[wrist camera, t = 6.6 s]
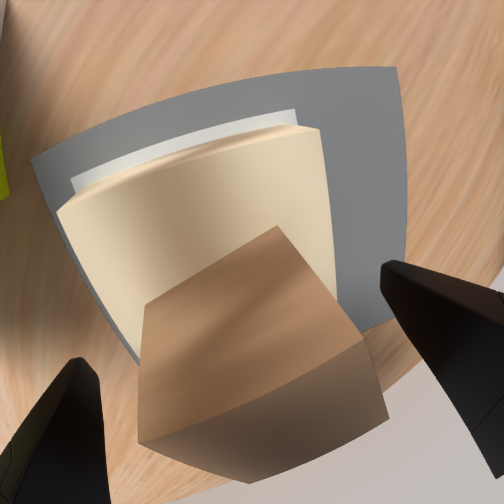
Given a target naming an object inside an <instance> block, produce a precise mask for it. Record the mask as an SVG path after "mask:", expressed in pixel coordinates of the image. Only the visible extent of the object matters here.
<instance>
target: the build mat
mask: <svg viewBox="0 0 504 504" xmlns="http://www.w3.org/2000/svg"><path fill="white" fill-rule="evenodd" d="M283 123H287V124H293V125H299V126H305V127H310V128H315V129H319V131H320V137H321V143H322V150H323V156H324V163H325V170H326V178H327V186H328V194H329V203H330V212H331V221H332V232H333V243H334V256H335V271H336V288H337V302H338V304H339V305H340V306H341V308H342V309H343V310H344V312H345V313H346V314H347V316H348V317H349V318H350V320H351V321H352V322H353V324H354V325H355V326H356V328H357V329H358V331H359V332H360V333H361V332H363V331H366V330H368V329H370V328H372V327H374V326H377V325H379V324H381V323H383V322H385V321H387V320H389V319H391V318H393V317H395V315H394V314H393V312H392V310H391V309H390V307H389V305H388V304H387V302H386V300H385V299H384V297H383V295H382V293H381V291H380V268H381V265H382V264H383V263H385V262H387V261H390V260H393V259H394V260H398V261H402V262H404V258H405V245H406V226H407V162H406V143H405V130H404V119H403V110H402V102H401V94H400V87H399V81H398V75H397V69H396V67H341V68H325V69H314V70H304V71H295V72H287V73H280V74H273V75H267V76H261V77H255V78H250V79H244V80H239V81H234V82H230V83H225V84H221V85H217V86H212V87H208V88H204V89H201V90H197V91H193V92H189V93H186V94H182V95H179V96H176V97H172V98H169V99H166V100H163V101H160V102H157V103H154V104H151V105H148V106H145V107H142V108H139V109H136V110H134V111H131V112H128V113H126V114H123V115H121V116H118V117H116V118H113V119H111V120H108V121H106V122H104V123H101V124H99V125H97V126H94V127H92V128H90V129H88V130H85V131H83V132H81V133H79V134H77V135H75V136H73V137H71V138H69V139H67V140H65V141H63V142H61V143H59V144H57V145H55V146H53V147H51V148H49V149H47V150H46V151H44V152H42V153H40V154H38V155H37V156H35V157H33V158H31V159H30V161H31V164H32V167H33V170H34V173H35V175H36V178H37V181H38V184H39V186H40V189H41V191H42V194H43V197H44V199H45V202H46V204H47V206H48V209H49V211H50V213H51V216H52V218H53V220H54V223H55V225H56V227H57V229H58V231H59V234H60V236H61V238H62V240H63V242H64V244H65V246H66V248H67V250H68V252H69V254H70V256H71V258H72V260H73V262H74V264H75V266H76V268H77V269H78V271H79V273H80V275H81V277H82V279H83V280H84V282H85V284H86V286H87V287H88V289H89V291H90V293H91V294H92V296H93V298H94V299H95V301H96V303H97V304H98V306H99V308H100V309H101V311H102V312H103V314H104V316H105V317H106V319H107V320H108V322H109V323H110V325H111V327H112V328H113V330H114V331H115V333H116V334H117V336H118V337H119V338H120V340H121V341H122V343H123V344H124V346H125V347H126V349H127V350H128V351H129V353H130V354H131V356H132V357H133V358H134V360H135V361H136V362H137V364H138V365H139V366H140V359H139V358H138V356H137V355H136V353H135V352H134V351H133V349H132V348H131V346H130V345H129V343H128V342H127V340H126V339H125V338H124V336H123V335H122V333H121V332H120V330H119V328H118V327H117V325H116V324H115V322H114V321H113V319H112V318H111V316H110V314H109V313H108V311H107V309H106V308H105V306H104V304H103V303H102V301H101V299H100V298H99V296H98V294H97V293H96V291H95V289H94V287H93V286H92V284H91V282H90V280H89V278H88V277H87V275H86V273H85V271H84V269H83V267H82V265H81V263H80V262H79V260H78V258H77V256H76V254H75V252H74V250H73V248H72V246H71V244H70V241H69V239H68V237H67V235H66V233H65V231H64V229H63V226H62V224H61V222H60V220H59V217H58V215H57V213H56V212H57V211H58V210H59V209H60V208H61V207H62V206H63V205H64V204H65V203H66V202H67V201H68V200H69V199H71V198H72V197H73V196H74V195H75V194H76V193H77V192H78V191H79V190H81V189H82V188H83V187H84V186H85V185H88V184H90V183H92V182H95V181H97V180H99V179H102V178H104V177H107V176H109V175H112V174H114V173H117V172H119V171H122V170H124V169H127V168H130V167H132V166H135V165H138V164H140V163H143V162H146V161H149V160H152V159H155V158H157V157H160V156H163V155H166V154H169V153H173V152H176V151H179V150H182V149H185V148H188V147H192V146H195V145H198V144H202V143H205V142H209V141H212V140H216V139H220V138H223V137H227V136H231V135H235V134H239V133H243V132H247V131H251V130H256V129H260V128H264V127H269V126H274V125H278V124H283Z"/></svg>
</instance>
